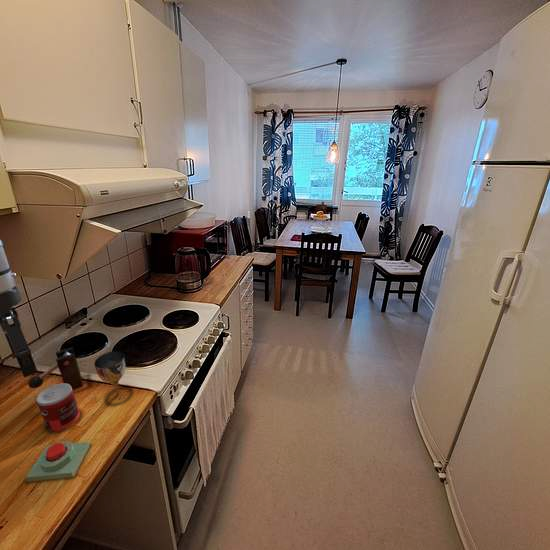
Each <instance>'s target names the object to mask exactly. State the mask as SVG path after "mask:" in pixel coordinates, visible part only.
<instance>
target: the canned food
mask: <svg viewBox="0 0 550 550" xmlns="http://www.w3.org/2000/svg"><path fill="white" fill-rule="evenodd" d="M36 404H37V407H38V409H39V411H40V414H41V417H42V419H43V421H44V424H45V427H46V429H47V430H48V431H61V430H64V429H66V428H68V427H69V426H71V425H73V424H74V423H75V422H76V421H77V420H78V419H79V417H80V414H81V413H80V409H79V406H78V403H77V399H76V397H75V393H74V390H72V388H71V386H70V385H69V384H66V383H64V382H62V383H56V384H53V385H50V386H48V387H46V388H44V389H43V390H41V391H40V392H39V393H38V394H37V395H36Z"/></svg>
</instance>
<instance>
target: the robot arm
mask: <svg viewBox="0 0 550 550" xmlns="http://www.w3.org/2000/svg"><path fill="white" fill-rule="evenodd" d="M15 277H17V274H16V272H12V269H11V267H10V265H9V262H8V257H7V255H6V252H5V249H4V245H3V241H2V240H1V239H0V328H1V331H2V332H3V333H4V336H5V338H6V340H7V343H8V346H9V348H10V352H11V354H12V355H11V357H12V359H15V358H16V361H17V364H18V366H19V369H20V371H21V374H22V376H23V378H27V377H29V376H32V375H34V374H36V373H38V372H39V371H38V369H37V367H36V364H35V361H34V358H33V355H32V350H31V349H30V347H29V344H28V343H27V340H26V337H25V335H24V333H23V331H22V328H21V327H22V323H21V321H20V318H19V314H18V312H17V310H16V308H15V307H14V306H16V305H18V304H20V303H21V301H22V296H21V294H20V290H19V288H18V287H17V286H16V285H17V283H16V280H15Z"/></svg>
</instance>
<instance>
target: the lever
mask: <svg viewBox="0 0 550 550" xmlns="http://www.w3.org/2000/svg"><path fill="white" fill-rule="evenodd" d="M67 355H70V353H69V352H65V353H64V354H63V355H62V356H60V357H63V356H67ZM60 357H59V358H60ZM57 369H59V367H58V364H57V362H56V363H54V364H53V365H52V366H51V367H50V368H48V369H46V371H44V372H43V373H42V374H41V375H34V376H32V377H30V378H29V380H28V381H27V385H28V387H29V388H31V389H38V388H40V387H41V386H42V385H43V383H44V379H45V378H46V377H47V376H49V375H50V374H51V373H53V372H55V370H57Z"/></svg>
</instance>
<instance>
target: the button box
mask: <svg viewBox="0 0 550 550" xmlns="http://www.w3.org/2000/svg"><path fill="white" fill-rule="evenodd" d="M58 443H63V444H64V446H65V449H66V452H65V454H64V456H63V457H61V458H60V459H59V460H56V461H53V462H50V461H48V459H47V456H46V452H47V450H48V449H49V448H50V447H51V446H52V445H53V444H50V445H48V444H47V445H46V446H45V447H44V449H43V451H42V452H41V454H40V455H38V458H37V460H35V462H34V464H33V465H32V467H31V468H30V470H29V472H27V474H26V476H25V480H26V482H27V483H29V482H30V483H32V482H40V481H41V482H42V481H50V480H60V479H69V478H70V479H71V478H74V477H75V475H76V473H77V472H78V469H79V467H80V465H81V463H82V462H83V460H84V457H85V456H86V454H87V452H88V450H89V448H90V443H89V441H83V442H70V441H69V440H66V441H59V442H58Z"/></svg>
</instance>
